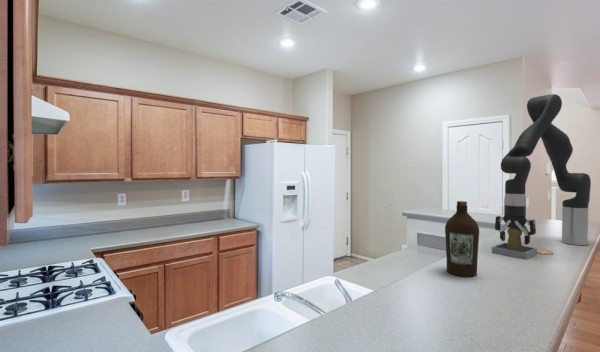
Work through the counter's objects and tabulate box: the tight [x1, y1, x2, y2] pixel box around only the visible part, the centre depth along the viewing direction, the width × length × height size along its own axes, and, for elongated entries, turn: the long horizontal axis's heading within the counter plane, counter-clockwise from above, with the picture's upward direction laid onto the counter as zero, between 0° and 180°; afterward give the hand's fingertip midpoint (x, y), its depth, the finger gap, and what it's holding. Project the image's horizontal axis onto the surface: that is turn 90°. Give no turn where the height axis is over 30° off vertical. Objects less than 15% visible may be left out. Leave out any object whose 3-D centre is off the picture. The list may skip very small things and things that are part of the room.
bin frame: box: [491, 242, 538, 260], centre depth 132 cm, size 12×12×2 cm
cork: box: [506, 227, 523, 252], centre depth 132 cm, size 6×6×11 cm
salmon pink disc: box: [537, 248, 554, 256], centre depth 133 cm, size 7×7×1 cm
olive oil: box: [444, 200, 480, 278], centre depth 109 cm, size 11×11×25 cm
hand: (514, 242), depth 132 cm, fingers open, 8 cm apart
